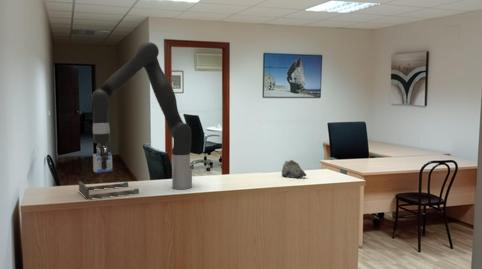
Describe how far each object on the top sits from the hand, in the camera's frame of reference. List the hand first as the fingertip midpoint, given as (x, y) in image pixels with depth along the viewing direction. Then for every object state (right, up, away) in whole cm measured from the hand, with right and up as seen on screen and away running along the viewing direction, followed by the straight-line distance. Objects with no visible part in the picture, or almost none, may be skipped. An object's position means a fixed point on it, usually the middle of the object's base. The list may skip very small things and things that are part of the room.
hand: (103, 167), depth 211 cm
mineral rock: (+95, -9, +42) cm, 105 cm away
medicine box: (0, -2, 0) cm, 2 cm away
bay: (+1, -12, +4) cm, 13 cm away
